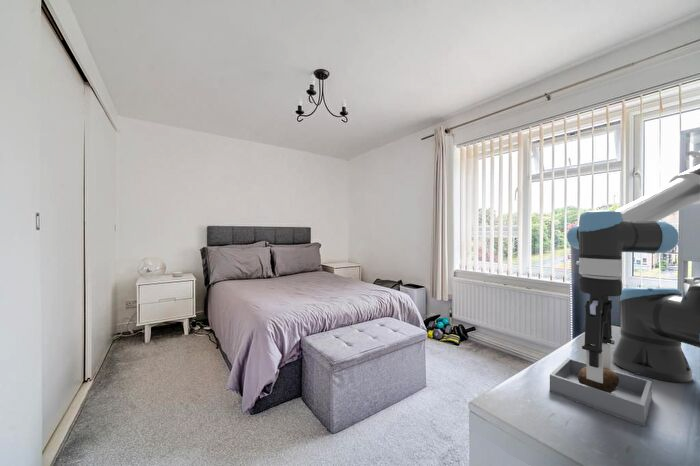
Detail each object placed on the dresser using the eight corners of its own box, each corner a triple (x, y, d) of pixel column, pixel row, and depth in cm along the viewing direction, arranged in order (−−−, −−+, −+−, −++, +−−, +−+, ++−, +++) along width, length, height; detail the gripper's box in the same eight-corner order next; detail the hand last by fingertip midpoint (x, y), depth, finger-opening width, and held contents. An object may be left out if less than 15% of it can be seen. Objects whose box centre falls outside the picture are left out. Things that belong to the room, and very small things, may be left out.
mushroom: (628, 379, 64) (610, 356, 65) (632, 406, 58) (611, 380, 59) (589, 383, 69) (572, 361, 70) (589, 408, 64) (571, 384, 65)
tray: (568, 372, 75) (568, 357, 75) (651, 398, 63) (651, 381, 63) (549, 391, 65) (549, 374, 65) (644, 426, 53) (644, 405, 53)
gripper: (588, 272, 74) (588, 358, 74) (566, 277, 61) (566, 381, 61) (628, 276, 68) (627, 369, 68) (613, 282, 55) (612, 397, 55)
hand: (598, 375), depth 64 cm, fingers open, 8 cm apart
